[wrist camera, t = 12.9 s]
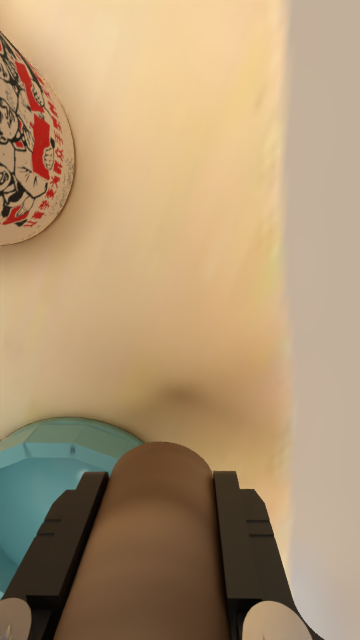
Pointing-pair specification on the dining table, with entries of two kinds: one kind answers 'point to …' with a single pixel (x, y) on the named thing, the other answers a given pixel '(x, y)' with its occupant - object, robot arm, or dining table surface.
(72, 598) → the walnut bead
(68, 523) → the robot arm
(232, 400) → the dining table surface
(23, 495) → the groove tray
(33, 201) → the teacup with lid
